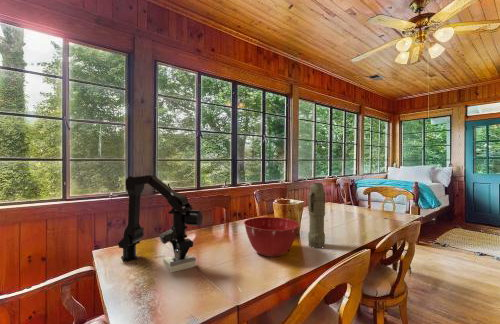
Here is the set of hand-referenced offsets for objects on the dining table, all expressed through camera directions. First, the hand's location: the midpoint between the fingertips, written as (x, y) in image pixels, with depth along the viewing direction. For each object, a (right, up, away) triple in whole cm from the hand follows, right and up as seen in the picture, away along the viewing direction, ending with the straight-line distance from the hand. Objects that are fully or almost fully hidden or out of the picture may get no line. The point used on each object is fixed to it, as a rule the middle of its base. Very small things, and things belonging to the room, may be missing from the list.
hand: (178, 257), depth 116 cm
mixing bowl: (+43, -4, +17) cm, 47 cm away
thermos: (+69, -4, +27) cm, 74 cm away
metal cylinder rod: (0, -3, 0) cm, 3 cm away
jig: (0, -3, 0) cm, 3 cm away
